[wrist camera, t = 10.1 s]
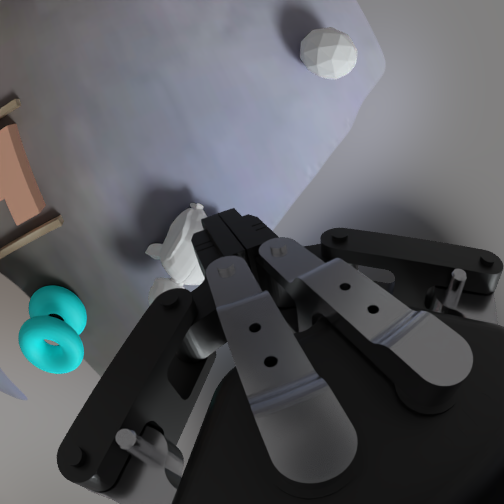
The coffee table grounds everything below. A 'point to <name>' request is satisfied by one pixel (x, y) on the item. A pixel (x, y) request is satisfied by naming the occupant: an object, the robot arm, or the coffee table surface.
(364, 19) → the coffee table surface
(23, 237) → the frame
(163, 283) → the white animal figure
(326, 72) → the geometric ball
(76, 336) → the donuts
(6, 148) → the t piece
